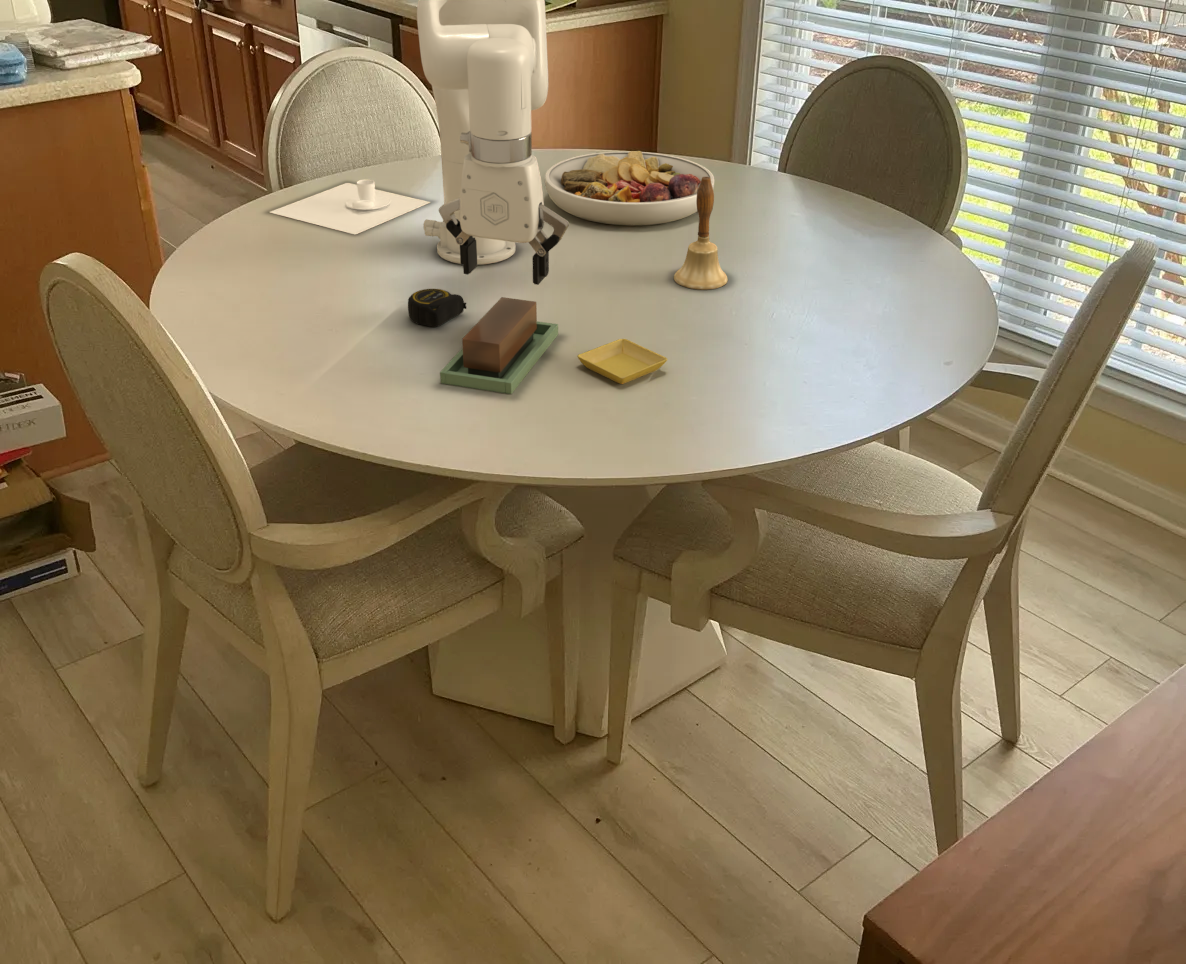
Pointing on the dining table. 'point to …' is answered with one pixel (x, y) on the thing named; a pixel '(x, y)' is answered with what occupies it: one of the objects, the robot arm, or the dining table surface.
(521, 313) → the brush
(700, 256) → the hand bell
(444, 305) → the tape measure
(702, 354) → the dining table surface
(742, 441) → the dining table surface
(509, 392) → the tray
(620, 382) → the yellow flat tray
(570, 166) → the bowl
